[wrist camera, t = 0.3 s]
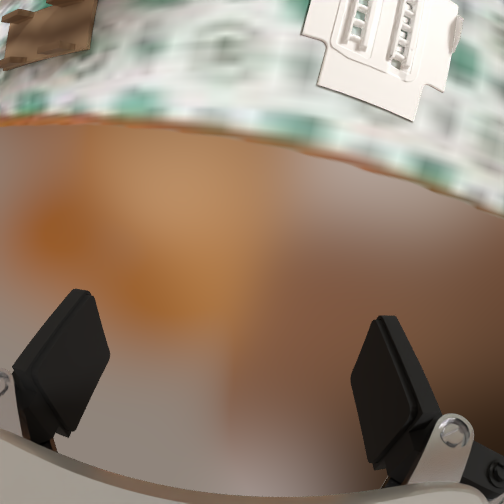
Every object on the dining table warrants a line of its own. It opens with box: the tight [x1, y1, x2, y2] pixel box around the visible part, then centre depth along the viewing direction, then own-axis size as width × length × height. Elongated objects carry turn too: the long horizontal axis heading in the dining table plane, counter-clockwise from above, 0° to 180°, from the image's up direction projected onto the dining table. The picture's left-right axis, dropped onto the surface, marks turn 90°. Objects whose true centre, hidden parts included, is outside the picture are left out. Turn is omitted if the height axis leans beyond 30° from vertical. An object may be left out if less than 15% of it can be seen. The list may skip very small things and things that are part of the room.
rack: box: [0, 0, 98, 71], centre depth 25 cm, size 9×18×5 cm, turn 84°
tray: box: [302, 0, 464, 122], centre depth 26 cm, size 20×28×4 cm
